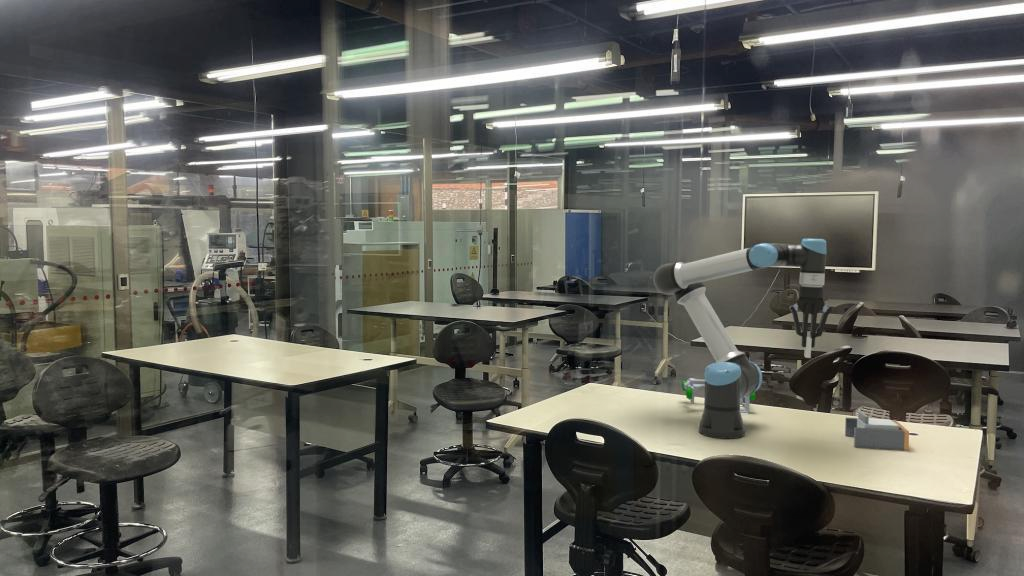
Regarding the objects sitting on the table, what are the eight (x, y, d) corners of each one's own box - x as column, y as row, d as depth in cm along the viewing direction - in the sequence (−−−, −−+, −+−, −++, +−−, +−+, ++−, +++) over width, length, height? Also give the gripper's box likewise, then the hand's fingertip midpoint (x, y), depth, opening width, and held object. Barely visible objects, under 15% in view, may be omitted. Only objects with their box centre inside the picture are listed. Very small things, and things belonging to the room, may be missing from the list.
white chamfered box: (864, 445, 217) (865, 416, 216) (856, 438, 225) (857, 410, 224) (898, 446, 215) (899, 418, 215) (889, 439, 223) (890, 412, 222)
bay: (854, 447, 215) (855, 428, 215) (845, 435, 229) (845, 417, 229) (908, 450, 211) (909, 431, 211) (895, 438, 225) (895, 420, 225)
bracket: (682, 401, 280) (682, 377, 280) (745, 403, 277) (745, 379, 276) (687, 412, 262) (687, 386, 261) (754, 414, 258) (755, 388, 258)
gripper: (792, 285, 220) (788, 357, 222) (835, 287, 217) (831, 360, 219) (788, 284, 228) (784, 353, 229) (830, 285, 225) (826, 356, 227)
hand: (807, 357), depth 224 cm, fingers closed
